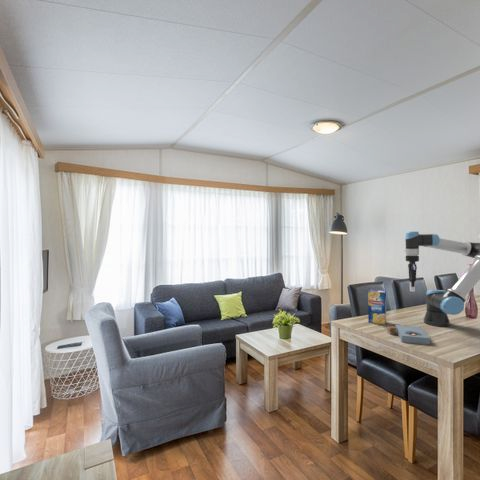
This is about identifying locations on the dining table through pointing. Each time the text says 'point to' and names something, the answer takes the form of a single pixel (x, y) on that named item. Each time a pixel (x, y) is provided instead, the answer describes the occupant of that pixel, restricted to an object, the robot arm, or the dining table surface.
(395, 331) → the walnut block
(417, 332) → the gray slab with hole
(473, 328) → the dining table surface
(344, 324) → the dining table surface
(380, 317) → the blue food box
